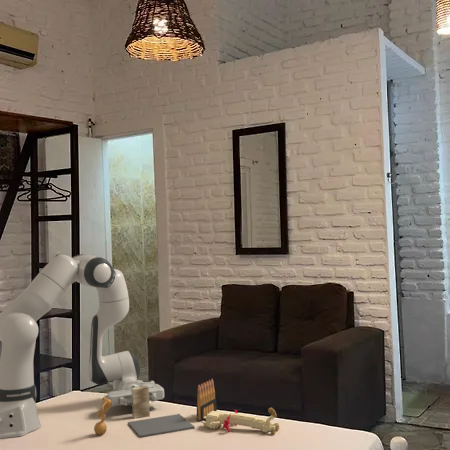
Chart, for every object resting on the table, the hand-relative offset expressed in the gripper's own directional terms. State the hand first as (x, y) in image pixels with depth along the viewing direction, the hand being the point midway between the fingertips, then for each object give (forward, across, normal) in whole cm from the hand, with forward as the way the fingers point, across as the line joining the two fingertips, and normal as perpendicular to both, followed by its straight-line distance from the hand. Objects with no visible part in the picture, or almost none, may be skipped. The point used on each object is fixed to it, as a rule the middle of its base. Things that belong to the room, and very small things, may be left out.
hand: (140, 401), depth 212 cm
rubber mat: (+13, +3, +6) cm, 15 cm away
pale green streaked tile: (-1, 0, +6) cm, 6 cm away
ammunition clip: (+11, +20, +6) cm, 24 cm away
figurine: (+13, -16, +6) cm, 21 cm away
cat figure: (+29, +24, +6) cm, 38 cm away
